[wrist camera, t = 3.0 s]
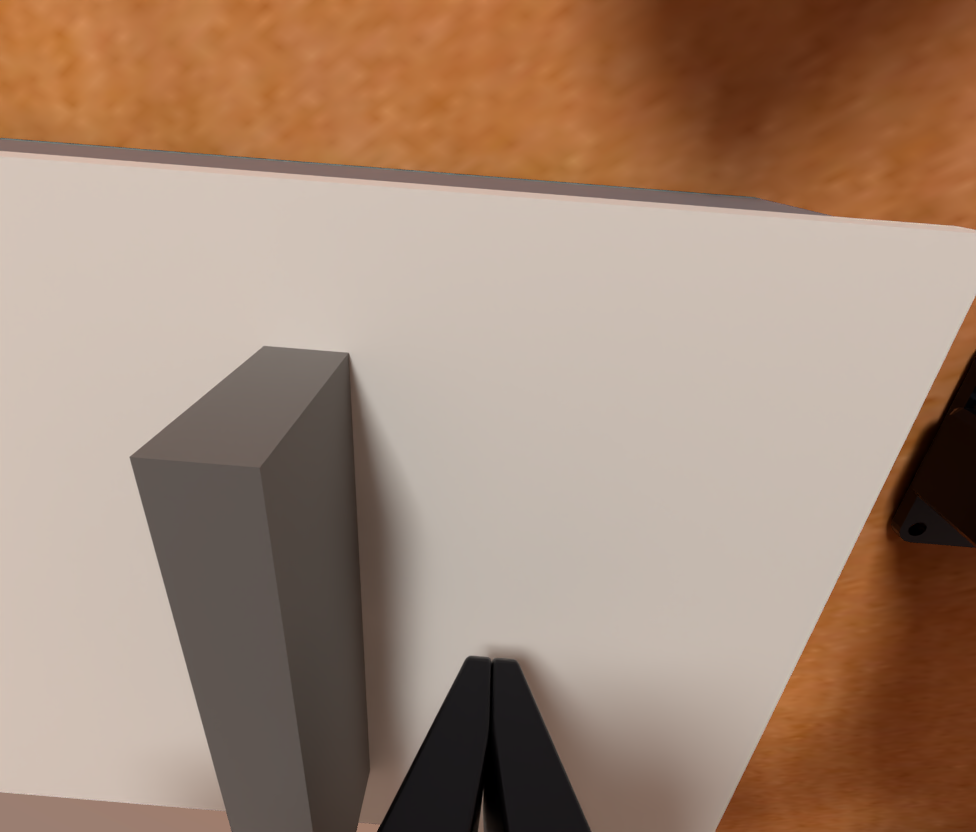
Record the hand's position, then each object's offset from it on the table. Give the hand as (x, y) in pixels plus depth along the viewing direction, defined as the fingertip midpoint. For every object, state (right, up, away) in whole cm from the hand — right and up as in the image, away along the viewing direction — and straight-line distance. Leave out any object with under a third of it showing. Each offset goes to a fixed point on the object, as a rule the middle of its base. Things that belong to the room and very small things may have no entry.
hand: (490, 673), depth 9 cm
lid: (-4, +1, +2) cm, 5 cm away
